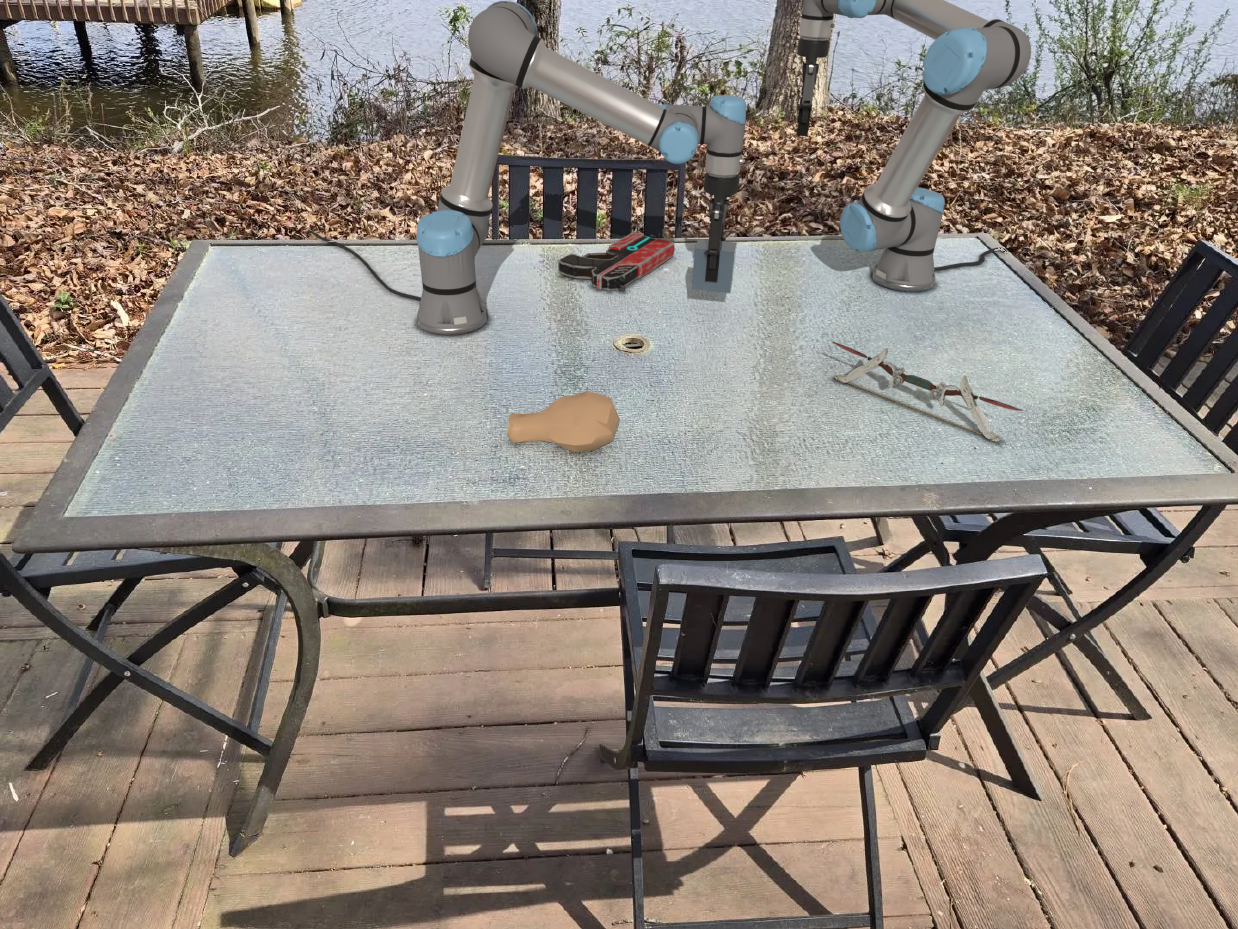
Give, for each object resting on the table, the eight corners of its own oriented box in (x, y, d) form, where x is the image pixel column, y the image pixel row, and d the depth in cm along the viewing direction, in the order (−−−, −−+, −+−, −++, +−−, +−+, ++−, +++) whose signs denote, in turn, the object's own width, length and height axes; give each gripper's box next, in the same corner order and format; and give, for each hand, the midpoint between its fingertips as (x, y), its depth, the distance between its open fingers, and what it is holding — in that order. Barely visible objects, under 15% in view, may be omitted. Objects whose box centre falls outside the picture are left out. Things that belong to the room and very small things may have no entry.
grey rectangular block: (730, 293, 200) (734, 252, 194) (691, 289, 201) (694, 248, 195) (732, 282, 205) (736, 242, 200) (694, 278, 206) (697, 238, 201)
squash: (622, 459, 152) (616, 419, 146) (509, 467, 154) (498, 429, 148) (622, 418, 160) (617, 379, 154) (514, 426, 162) (505, 388, 155)
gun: (551, 260, 217) (618, 279, 209) (616, 225, 239) (679, 240, 231) (552, 278, 220) (618, 297, 212) (615, 241, 242) (677, 256, 234)
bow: (1013, 444, 159) (1029, 396, 153) (1009, 448, 158) (1025, 400, 152) (828, 373, 180) (836, 328, 175) (824, 376, 179) (831, 331, 174)
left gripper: (736, 187, 180) (725, 292, 193) (742, 162, 196) (731, 261, 209) (700, 184, 181) (691, 289, 194) (709, 160, 197) (700, 258, 210)
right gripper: (831, 46, 201) (817, 142, 213) (829, 31, 222) (816, 119, 234) (798, 44, 202) (786, 140, 214) (799, 30, 223) (788, 117, 235)
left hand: (712, 274), depth 201 cm, fingers closed on grey rectangular block, 7 cm apart
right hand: (802, 129), depth 224 cm, fingers open, 13 cm apart
